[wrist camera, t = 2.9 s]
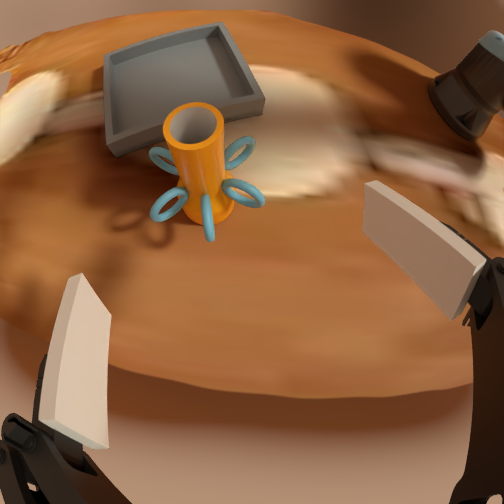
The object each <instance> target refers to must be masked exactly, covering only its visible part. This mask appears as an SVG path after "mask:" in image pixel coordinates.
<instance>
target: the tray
mask: <svg viewBox="0 0 504 504" xmlns="http://www.w3.org/2000/svg"><path fill="white" fill-rule="evenodd" d="M103 92H104V119H105V134H106V145H107V146H108V148H109V149H110V150H111V152H112V153H113V154H114V156H115V157H116V158H117V157H120V156H122V155H125V154H127V153H130V152H133V151H135V150H138V149H141V148H143V147H146V146H149V145H152V144H155V143H158V142H161V141H164V140H165V137H164V134H163V125H164V122H165V120H166V118H167V116H168V115H169V114H170V113H171V112H172V111H173V110H174V109H176V108H177V107H179V106H181V105H184V104H187V103H192V102H203V103H207V104H210V105H212V106H214V107H215V108H217V109H218V110H219V111H220V112H221V114H222V116H223V119H224V123H226V122H230V121H234V120H239V119H243V118H248V117H252V116H257V115H262V113H263V108H264V102H265V97H264V95H263V93H262V91H261V89H260V87H259V85H258V83H257V81H256V79H255V78H254V76H253V74H252V72H251V70H250V68H249V66H248V65H247V63H246V61H245V59H244V57H243V56H242V54H241V52H240V50H239V49H238V47H237V45H236V43H235V42H234V40H233V38H232V37H231V35H230V33H229V31H228V30H227V28H226V27H225V25H224V23H223V22H219V23H213V24H207V25H202V26H197V27H192V28H187V29H183V30H179V31H175V32H171V33H167V34H163V35H160V36H156V37H153V38H150V39H146V40H143V41H140V42H137V43H134V44H131V45H129V46H126V47H123V48H120V49H118V50H115V51H113V52H110V53H108V54H105V55H104V69H103Z"/></svg>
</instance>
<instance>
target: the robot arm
mask: <svg viewBox="0 0 504 504" xmlns="http://www.w3.org/2000/svg"><path fill="white" fill-rule="evenodd" d="M478 42H479V43H478V44H477V45H476V46H475V47H474V48H473V49H472V50H471V51H470V52H469V53H468V55H467V56H466V57H465V58H464V59H463V60H462V61H461V62H460V63H459V64H458V66H456V68H454V69H452V70H450V71H447V72H445V73H443V74H441V75H438V76H436V77H435V78H434V79H433V80H432V81H431V82H430V83H429V85H428V92H429V96H430V98H431V100H432V102H433V104H434V106H435V108H436V109H437V111H438V112H439V114H440V115H441V116H442V118H443V119H444V120H445V121H446V122H447V124H448V125H449V126H450V127H451V128H452V129H453V130H454V131H456V132H457V133H458V134H459V135H461V136H462V137H464V138H465V139H468V140H471V141H474V140H477V139H478V138H479V137H481V136H482V135H483V134H484V132H485V131H486V129H487V127H488V125H489V124H490V122H491V120H492V118H493V116H494V115H495V114H496V113H498V112H499V111H500V110H502V109H503V110H504V35H502V34H501V33H499V32H497V31H489V32H488V33H487V34H486V35H485V36H484V37H483V38H482V39H479V40H478ZM362 232H363V233H364V234H365V235H366V236H367V237H368V238H369V239H370V240H372V241H373V242H374V243H375V244H376V245H377V246H378V247H379V248H380V249H381V250H382V251H383V252H384V253H385V254H387V255H388V256H389V257H390V258H391V259H392V260H393V261H394V262H395V263H396V264H397V265H398V266H399V267H400V268H401V269H402V270H403V271H404V272H405V273H406V274H407V275H408V276H409V277H410V278H411V279H412V280H413V281H414V282H415V283H416V284H417V285H418V286H419V287H420V288H421V289H422V290H423V291H424V292H425V294H426V295H427V296H428V297H429V298H430V299H431V300H432V301H433V302H434V303H435V304H436V305H437V306H438V308H439V309H440V310H441V311H442V312H443V313H444V314H445V315H446V316H447V318H448V319H449V320H450V321H452V320H453V319H454V318H456V317H457V316H458V315H460V314H461V313H462V312H463V310H464V308H465V306H466V304H467V302H468V303H469V304H470V305H471V307H470V309H469V311H468V313H467V314H466V316H465V318H464V320H463V323H462V326H465V324H466V322H467V321H468V319H469V318H470V321H469V323H468V325H467V326H471V336H472V349H473V377H474V385H473V386H474V387H473V413H472V425H471V434H470V442H469V449H468V455H467V462H466V466H465V471H464V474H463V476H462V478H461V479H460V480H459V482H458V483H457V484H456V486H455V488H454V490H453V492H452V496H451V499H450V502H449V504H486V503H487V501H488V499H489V498H490V497H491V496H493V495H497V494H500V495H501V496H502V499H503V500H502V504H504V258H501V257H496V258H494V259H493V260H492V259H491V258H489V257H488V256H487V255H486V254H485V253H483V252H482V251H481V250H480V249H479V248H478V247H476V246H475V245H474V244H473V243H471V242H470V241H469V240H468V239H467V240H466V238H465V237H464V236H463V235H461V234H459V232H457V231H456V230H455V229H454V228H452V227H451V226H449V225H447V224H445V223H443V222H440V221H438V220H436V219H435V218H434V217H432V216H431V215H430V214H428V213H427V212H425V211H424V210H422V209H421V208H419V207H418V206H417V205H415V204H414V203H412V202H411V201H409V200H408V199H406V198H405V197H403V196H401V195H400V194H398V193H397V192H395V191H394V190H392V189H390V188H389V187H387V186H386V185H384V184H382V183H381V182H379V181H377V180H376V181H372V182H368V183H365V184H364V214H363V231H362ZM110 323H111V314H110V313H109V311H108V310H107V309H106V307H105V306H104V305H103V303H102V302H101V300H100V299H99V297H98V296H97V295H96V293H95V292H94V290H93V289H92V287H91V286H90V284H89V283H88V281H87V280H86V278H85V277H84V275H83V274H82V273H80V274H78V275H75V276H72V277H70V278H69V279H68V282H67V285H66V288H65V291H64V294H63V298H62V301H61V304H60V307H59V311H58V314H57V318H56V322H55V326H54V329H53V333H52V338H51V342H50V346H49V351H48V354H45V356H44V358H43V360H42V362H41V365H40V368H39V373H38V380H37V385H36V387H37V389H36V393H35V399H34V408H33V418H32V423H30V422H28V421H27V420H25V419H24V418H22V417H21V416H19V415H18V414H15V413H11V414H9V415H8V416H7V417H6V418H5V420H4V422H3V425H2V431H1V432H2V434H1V436H2V440H0V489H1V492H2V495H3V498H4V501H5V504H132V503H131V502H130V501H129V500H128V499H127V498H126V497H125V496H124V495H123V494H122V493H121V492H120V491H119V490H118V489H117V488H116V487H115V486H114V485H113V484H112V482H111V481H110V480H109V479H108V478H107V477H106V476H105V475H104V473H103V472H102V471H101V470H100V469H99V468H98V466H97V465H96V464H95V463H94V461H93V460H92V459H91V458H90V456H89V455H88V454H86V452H84V451H83V445H85V446H87V447H89V448H91V449H109V443H108V442H109V441H108V423H107V366H108V348H109V334H110ZM27 483H30V484H33V485H35V486H36V491H33V490H30V489H29V487H28V484H27Z"/></svg>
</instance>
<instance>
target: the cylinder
mask: <svg viewBox="0 0 504 504" xmlns="http://www.w3.org/2000/svg"><path fill="white" fill-rule="evenodd" d="M163 134H164V137H165V140H166V142H167V145H168V148H169V150H167V149H165V148H162V147H153V148H151V149H150V151H149V157H150V159H151V160H152V161H153V162H154V163H155V164H156V165H157V166H158V167H160V168H161V169H163V170H165V171H167V172H169V173H171V174H175V175H179V176H180V178H179V180H178V184H177V187H175V188H172V189H170V190H168V191H167V192H165V193H164V194H163V195H162V196H160V197H159V198H158V199H157V200H156V202H155V203H154V204H153V206H152V208H151V210H150V218H151V220H152V221H154V222H162V221H165V220H167V219H169V218H171V217H172V216H174V215H175V214H176V213H177V212H178V211H179V210H180V209H181V208H183V210H184V212H185V213H186V215H187V216H188V217H189V218H190V219H191V220H192V221H194V222H195V223H198V224H201V225H203V228H204V233H205V238H206V240H207V241H208V242H213V241H214V240H215V232H214V224H217V223H220V222H222V221H223V220H225V219H226V218H227V217H228V216H229V215H230V213H231V212H232V210H233V207H234V203H235V201H236V202H238V203H240V204H242V205H244V206H247V207H251V208H260V207H262V206H263V205H264V204H265V198H264V196H263V194H262V193H261V192H260V191H259V190H258V189H257V188H256V187H254V186H253V185H251V184H249V183H247V182H245V181H242V180H239V179H234V178H233V176H232V174H231V173H230V171H229V170H231V169H233V168H235V167H237V166H238V165H240V164H241V163H242V162H244V161H245V160H246V159H247V158H248V157H249V155H250V154H251V153H252V151H253V149H254V147H255V140H254V138H252V137H250V136H245V137H242V138H240V139H238V140H236V141H235V142H233V143H232V144H231V145H230V146H229V147H228V148H227V149H226V150H225V151H224V119H223V116H222V114H221V112H220V111H219V110H218V109H217V108H215V107H214V106H212V105H210V104H207V103H203V102H192V103H187V104H184V105H181V106H179V107H177V108H176V109H174V110H173V111H172V112H171V113H170V114H169V115H168V116H167V118H166V120H165V122H164V125H163ZM246 144H247V146H246V148H245V149H244V151H243V152H242V153H241V154H240V155H239V156H238V157H237V158H235V159H234V160H232V161H231V162H228V160H229V159H230V157H231V156H232V155H233V154H234V153H235V152H236V151H237V150H238V149H239V148H241V147H242V146H244V145H246ZM158 155H159V156H162V157H165V158H167V159H168V160H170V161H172V162H173V163H174V164H175V166H176V167H174V166H172V165H170V164H168V163H166V162H165V161H163V160H162V159H161V158H160V157H159V156H158ZM235 188H238V189H240V190H243V191H245V192H247V193H248V194H250V195H251V196H252V197H254V198H255V200H252V199H249V198H246V197H243V196H241V195H240V194H238V193H236V192H235ZM176 196H178V201H177V202H176V203H175V204H174V205H173V206H172V207H171V208H170V209H168V210H167V211H165V212H163V213H161V214H158V213H159V211H160V210H161V208H162V207H163V206H164V205H165V204H166V203H167V202H168V201H169V200H171V199H172V198H174V197H176Z"/></svg>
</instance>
